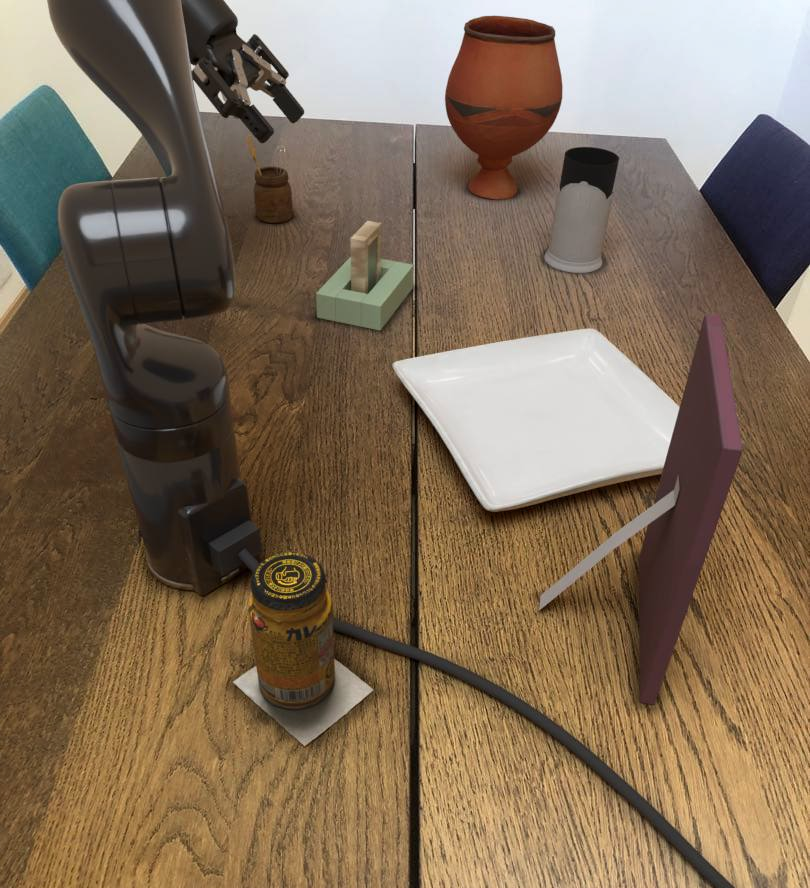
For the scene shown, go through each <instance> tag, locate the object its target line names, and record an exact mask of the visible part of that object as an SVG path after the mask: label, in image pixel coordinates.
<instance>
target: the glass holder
mask: <svg viewBox="0 0 810 888" xmlns="http://www.w3.org/2000/svg"><path fill="white" fill-rule="evenodd" d="M619 162H620V157H619V155H617V153H615V152H613V151H610V150H608V149H604V148H601V147H593V146H578V147H577V146H576V147H571V148H569V149H567V150H565V152H564V156H563V161H562V169H561V175H560V182H559V184H558V188H557V193H556V199H555V206H554V212H553V218H552V224H551V231H550V236H549V242H548V243H549V244H548V248H547V251H545V254H544V255H543V259H544V262H545V263H546V264H547V265H548V266H550V267H552V268H553V269H556V270H559V271H561V272H562V271H563V272H566V273H573V274H574V273H575V274H585V273H592V272H595V271H597V270H599V269H600V268H602V266H603V258H602V252H603V247H604V243H605V237H606V231H607V227H608V222H609V217H610V212H611V208H612V204H613V203H612V202H613V197H614V187H615V181H616V176H617V171H618V167H619Z"/></svg>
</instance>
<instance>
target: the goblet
mask: <svg viewBox="0 0 810 888" xmlns="http://www.w3.org/2000/svg"><path fill="white" fill-rule="evenodd" d="M463 31H464V34H463V37H462V40H461V44H460V47H459V51H458V53H457V55H456V58H455V60H454V62H453V65H452V66H451V69H450V73H449V75H448V78H447V82H446V87H445V95H444V104H445V112H446V116H447V119H448V122H449V124H450V126H451V128H452V130H453V132H454V133H455V135H456V136H457V137H458V139H459V140H460V141H461V142H462V143H463V145H465V147H466V148H468V149H469V150H470V151H471V152H473V153H474V154H476V155H477V159H476V161H477V163H478V164H479V166H480V167H481V168H480V169H479V170H478V172H477V173H476V174H475V175H474V176H473V178H472V179H471V180H470V182H469V183H468V187H467V188H468V190H469V192H470V193H471V194H473V195H475V196H477V197H481V198H483V199H490V200H505V199H510V198H513V197H514V196H515V195H516V194H517V193H518V186H517V183H516V181H515V180H514V178H513V176H512V174H511V173H510V171H509V169H508V166H510V164H512V162H513V157H514V156H517V155H520V154H522V153H524V152H526V151H528V150H529V149H531V148H533V147H534V146H535V145H536V144H538V143H539V142H540V141H541V140H542V139H543V138H545V136H546V135H547V134H548V132H549V131H550V129H552V127H553V125H554V123H555V122H556V119H557V117H558V114H559V112H560V110H561V106H562V101H563V90H564V89H563V88H564V87H563V77H562V72H561V71H562V70H561V67H560V60H559V57H558V51H557V46H556V41H555V37H556V29H555V28H554V26H553V25H549V24H546V23H543V22H539V21H536V20H534V19H529V18H522V17H515V16H506V15H482V16H479V17H474V18H472V19H469V20H467V22H465V24H464V27H463Z"/></svg>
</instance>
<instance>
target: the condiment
mask: <svg viewBox="0 0 810 888" xmlns="http://www.w3.org/2000/svg"><path fill="white" fill-rule="evenodd" d="M326 583H327V575H326V573H325V571H324V569H323V566H322V565H321V564H320V563H319V561H317V560H316V559H315V558H313V557H311V556H310V555H308V554H305V553H301V552H296V551H286V552H280V553H276V554H272V555H270V556H268V557H267V558H265V559H264V560H262V561H260V562H259V564H258V566H257V567H256V568H255V570H254V572H252V575H251V577H250V581H249V585H250V600H249V603H248V616H249V624H250V631H251V639H252V646H253V654H254V660H255V666H253V667H252V668H250V669H249V670H247V671H246V672H245V673H243V674H242V675H239V677H237V678H236V679H234V680H233V682H232V683H233V684H234V685H235V686H237V687H238V688H239V689H240V690H241V691H242V692H243V694H245V695H246V696H247V697H248V698H250V699H251V701H253V702H254V703H255V704H256V705H257V706H258V707H259V708H261V709H262V711H264V712H265V713H266V714H267V715H268V716H269V717H271V718H272V719H274V720H275V721H276V722H277V723H278V725H280V726H281V727H282V728H283V729H284V730H285V731H286V732H287V733H289V734H290V735H291V736H292V737H294V738H295V739H296V740H297V741H298V742H299V743H300V744H301V745H302V746H303V747H306V746H307V745H308V744H310V743H311V742H312V741H313V740H315V739H317V738H318V737H319V736H320V735H321V734H323V733H324V732H325V731H326V730H327V729H328V728H330V727H332V726H334V724H335V723H337V722H338V721H339V720H340V719H341V718H342V717H344V716H346V715H347V714H348V713H349V712H350V711H351V710H352V709H353V708H354V707H356V705H358V704H359V703H360V702H362V701H363V700H364V699H365V698H366V697H367V696H369V695H370V693H372V692H373V691H374V689H373V688H372V687H371V686H369V685H368V683H366V682H365V681H363V680H362V679H360V677H359V676H358V675H356V674H355V673H354V672H352V671H351V670H350V669H349V668H348V667H347V666H345V665H344V664H342V663H341V662H340V661H338V660H337V659H336V658H335V649H334V648H335V647H334V644H335V642H334V641H335V640H334V639H335V635H334V631H333V619H334V614H333V607H334V606H333V600H332V598H331V595H330V593H329V591H328V587H327V584H326Z"/></svg>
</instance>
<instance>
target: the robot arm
mask: <svg viewBox="0 0 810 888" xmlns="http://www.w3.org/2000/svg"><path fill="white" fill-rule="evenodd" d="M46 2H47V8H48V14H49V17H50V21H51V24H52V27H53V31H54V32H55V34H56V37H57V38H58V40H59V42H60V44H61V45H62V46H63V48H64V49H65V51H66V52H67V54H68V55H69V56H70V58H71V59H72V60H73V62H74V63H75V64H76V66H78V68H79V69H80V70H81V71H82V72H83V74H85V75H86V77H88V79H89V80H90V81H91V82H92V83H93V84H94V85H95V86H96V87H97V88H98V89H99V91H101V92H102V93H103V94H104V95H105V96H106V97H107V99H108V100H110V101H111V102H112V103H113V104H114V105H115V106H116V107H117V108H118V109H119V110H120V111H121V112H122V114H124V115H125V116H126V118H128V119H129V121H130V122H131V123H132V124H133V125H134V126H135V127H136V129H137V130H138V131H139V132H140V134H141V135H142V137H143V138H144V139H145V141H146V142H147V144H148V145H149V147H150V148H151V150H152V151H153V153H154V155H155V157H156V158H157V160H158V162H159V165H161V168H162V169H163V171H164V174H165V176H161V177H157V176H156V177H145V178H144V177H143V178H129V179H113V180H100V181H89V182H82V183H81V182H80V183H75V184H71V185H68V186H67V187H66V188H65V189H64V190H63V192H62V194H61V196H60V198H59V201H58V206H57V207H58V208H57V226H58V234H59V239H60V244H61V250H62V254H63V257H64V261H65V263H66V264H65V265H66V267H67V272H68V274H69V279H70V281H71V284H72V287H73V290H74V293H75V296H76V299H77V302H78V304H79V309H80V312H81V314H82V317H83V320H84V324H85V326H86V330H87V332H88V333H87V334H88V335H89V339H90V342H91V346H92V349H93V352H94V357H95V360H96V364H97V368H98V371H99V375H100V379H101V383H102V387H103V393H104V397H105V401H106V404H107V408H108V412H109V416H110V420H111V423H112V427H113V431H114V435H115V439H116V444H117V448H118V451H119V455H120V459H121V463H122V468H123V470H124V474H125V478H126V482H127V486H128V490H129V494H130V497H131V498H130V499H131V500H132V505H133V510H134V513H135V517H136V520H137V521H136V522H137V524H138V537H137V542H138V546H139V549H140V550H141V548H142V543H143V547H144V550H145V558H146V563H147V567H148V569H149V572H150V573H151V574H152V576H153V577H154V578H155V579H156V580H158V581H159V582H160V583H161V584H164V585H165V586H168V587H171V588H174V589H177V590H183V591H193V592H196V594H198V595H199V596H201V597H203V596H206V595H207V594H209V593H211V592H212V591H214V590H215V589H217V588H219V587H220V586H222V585H224V584H226V583H227V582H229V581H231V580H233V579H234V578H235V577H237V576H238V575H241V573H243V572H245V571H246V570H248V569H249V570H250V572H252V573H253V572H254V570H255V568H256V567H257V566H258V564H259V563H260V562H259V561H258V559H257V556H258V555H259V554H261V553H262V552H263V547H262V540H261V532H260V531H261V530H260V528H259V526H257V525H256V524H254V522H253V520H252V512H251V505H250V498H249V497H250V496H249V489H248V485H247V483H246V482H245V481H244V480H243V479H242V475H241V473H242V472H241V468H240V459H239V453H238V452H239V451H238V446H237V436H236V429H235V424H234V423H235V422H234V421H235V420H234V415H233V414H234V413H233V406H232V400H231V399H232V398H231V392H230V384H229V377H228V371H227V366H226V363H225V361H224V359H223V357H222V355H221V353H219V351H218V350H217V349H216V348H214V347H212V346H211V345H210V344H209V343H206V342H205V341H203V340H200V339H198V338H195V337H193V336H189V335H185V334H180V333H177V332H173V331H168V330H164V329H161V328H159V327H156V326H153V325H151V324H157V323H165V322H167V323H168V322H176V321H183V320H192V319H193V320H194V319H199V318H208V317H213V316H217V315H220V314H222V313H225V312H226V311H227V310H229V308H230V307H231V305H232V303H233V301H234V298H235V293H236V284H237V278H236V277H237V275H236V274H237V273H236V263H235V256H234V255H235V254H234V249H233V244H232V239H231V234H230V231H229V226H228V220H227V217H226V213H225V208H224V204H223V200H222V196H221V192H220V188H219V184H218V181H217V177H216V173H215V168H214V164H213V161H212V158H211V153H210V149H209V146H208V142H207V137H206V133H205V129H204V124H203V121H202V117H201V113H200V108H199V103H198V100H197V95H196V94H197V93H196V89H195V84H196V85H197V87H198V88H199V90H201V92H202V93H203V94H204V96H205V97H206V98H207V99H208V100H209V102H210V103H211V104H212V106H213V107H214V108H215V110H217V112H218V113H219V115H220V116H221V117H222V118H224V119H228V118H229V117H230V116H232V117H233V118H234V119H236V120H240V121H241V122H242V123H243V125H244V126H245V127H246V128H247V130H248V131H249V132H250V133H251V135H253V137H254V138H255V139H256V140H257V141H258V142H259V143H260V144H265V143H267V142H268V141H269V139H271V137H272V136H273V135H274V133H275V129H274V128H273V126H272V125H271V124H270V122H269V121H268V120H267V119H266V118H265V116H264V115H263V114H262V113H261V112H260V110H259V109H258V108H257V107H256V105H255V104H254V103H252V102H251V98H250V95H249V92H248V89H249V88H250V89H252V90H253V91H256V92H258V91H261V92H263V93H264V94H266V95H267V96H269V97H270V98H272V101H273V102H274V104H275V105H276V106H277V107H278V108H279V110H280V111H281V112H282V114H283V115H284V116H285V117H286V119H287V120H288V121H289V122H290V123H291V124H296V123H297V122H299V120H300V119H301V118H302V117H303V116H304V114H305V109H304V108H303V106H302V105H301V104H300V102H299V101H298V100H297V99H296V98H295V96H294V95H293V94H292V92H290V89H288V87H287V86H286V85H287V79H288V77H289V76H290V73H289V72H288V70H287V69H286V68H285V66H284V65H283V64H282V63H281V62H280V61H279V59H278V58H277V57H276V55H275V54H274V53H273V52H272V51H271V50H270V48H269V47H268V46H267V45H266V44H265V42H264V41H263V39H261V38H260V37H259V35H257V34H255V33H253V34H252V35H251V36H250V37H249V39H248V40H247V41H245V40H244V39H242V37H240V35H238V34H237V27H238V25H239V19H238V16H237V15H236V14H235V12H234V11H233V10H232V9H231V8H230V6H229V5H228V3H226V1H225V0H46ZM192 66H194V67H193V68H192ZM272 68H273V69H274V70H273V69H272ZM219 94H220V95H221V98H222V99H221V98H220V97H219ZM222 100H223V101H224V102H223V101H222ZM333 632H336V633H340V634H342V635H343V634H344V635H346V636H349V637H352V638H355V639H358V640H360V641H362V642H364V643H367V644H370V645H372V646H376V647H378V648H381V649H384V650H386V651H390V652H393V653H396V654H398V655H402V656H404V657H407V658H409V659H413V660H414V661H417V662H421V663H424V664H426V665H428V666H431V667H433V668H436V669H438V670H440V671H441V672H444V673H446V674H448V675H451V676H453V677H455V678H457V679H459V680H461V681H463V682H465V683H467V684H469V685H471V686H473V687H475V688H477V689H478V690H481V691H482V692H484V693H486V694H488V695H489V696H491V697H493V698H495V699H497V700H498V701H500V702H502V703H503V704H504V705H507V707H510V708H511V709H512V710H514V711H516V712H517V713H518V714H521V715H522V716H523V717H524V718H526V719H528V720H529V721H530V722H532V723H534V724H535V725H537V726H538V727H539V728H541V729H542V730H543V731H545V732H546V733H548V734H549V735H550V736H552V737H553V738H554V739H555V740H557V741H558V742H559V743H561V744H562V745H563V746H565V748H567V749H568V750H569V751H570V752H572V753H573V754H574V755H575V756H577V757H578V758H579V759H580V760H581V761H582V762H584V763H585V764H586V765H587V766H588V767H590V769H592V770H593V771H594V772H595V773H596V774H597V775H598V776H599V777H600V778H602V779H603V780H604V781H605V782H606V783H607V784H608V785H609V786H610V787H612V788H613V789H614V790H615V791H616V792H617V793H618V794H619V795H620V796H621V797H623V799H625V800H626V801H627V802H628V803H629V804H630V805H631V806H632V807H633V808H635V810H637V812H639V814H640V815H642V816H643V817H644V818H645V819H646V821H648V822H649V823H650V824H651V825H652V826H653V827H654V828H655V829H656V830H657V831H658V833H660V834H661V836H663V838H664V839H666V840H667V842H669V844H671V845H672V846H673V848H674V849H675V850H676V851H677V852H678V853H679V854H680V855H682V857H683V858H684V859H685V860H686V862H688V863H689V864H690V865H691V866H692V868H694V869H695V871H697V872H698V873H699V874H700V875H701V876H702V877H703V878H704V879H705V880H706V881H707V882H708V883H709V884H710V885H711V886H712V887H713V888H736V887H735V886H734V885H733V884H732V883H730V881H729V880H728V879H726V878H725V876H724V875H722V873H720V872H719V871H718V870H717V869H716V868H715V867H714V866H713V865H712V864H711V863H710V862H709V861H708V859H706V858H705V857H704V856H703V855H702V854H701V853H700V852H699V851H698V850H697V849H696V848H695V847H694V846H693V845H692V844H691V842H689V841H688V840H687V839H686V838H685V837H684V836H683V835H682V834H681V833H680V832H679V830H677V829H676V828H675V827H674V826H673V825H672V824H671V823H670V822H669V821H668V820H667V819H666V818H665V817H664V816H663V815H662V813H660V812H659V810H657V809H656V808H655V807H654V806H653V805H652V804H651V803H650V802H649V801H648V800H647V799H646V798H645V797H644V796H642V795H641V794H640V792H638V791H637V790H636V789H635V788H634V787H633V786H632V785H630V783H628V782H627V781H626V780H625V779H624V778H622V776H620V775H619V774H618V773H617V772H616V771H615V770H614V769H613V768H611V767H610V766H609V765H608V764H607V763H606V762H604V761H603V759H601V758H600V757H599V756H597V755H596V754H595V753H594V752H593V751H592V750H590V748H589V747H587V746H586V745H585V744H584V743H582V742H581V741H580V740H578V739H577V738H576V737H575V736H574V735H572V734H571V733H570V732H568V731H567V730H566V729H564V727H562V726H561V725H559V724H558V723H557V722H555V721H554V720H552V719H551V718H549V717H548V716H546V715H545V714H544V713H542V712H541V711H540V710H538V709H536V708H535V707H534V706H532V705H531V704H529V703H527V702H525V701H524V700H523V699H522V698H519V696H516V695H515V694H514V693H512V692H510V691H508V690H507V689H506V688H503V687H502V686H500V685H499V684H497V683H495V682H493V681H491V680H489V679H487V678H485V677H484V676H482V675H479V674H478V673H476V672H473V671H472V670H470V669H467V668H465V667H463V666H462V665H459V664H457V663H455V662H453V661H451V660H449V659H447V658H444V657H441V656H439V655H437V654H435V653H432V652H430V651H427V650H424V649H422V648H419V647H416V646H413V645H410V644H407V643H404V642H403V641H399V640H396V639H393V638H390V637H387V636H385V635H382V634H378V633H376V632H373V631H370V630H369V629H365V628H363V627H360V626H357V625H355V624H352V623H349V622H345V621H343V620H339V619H336V618H333Z"/></svg>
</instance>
